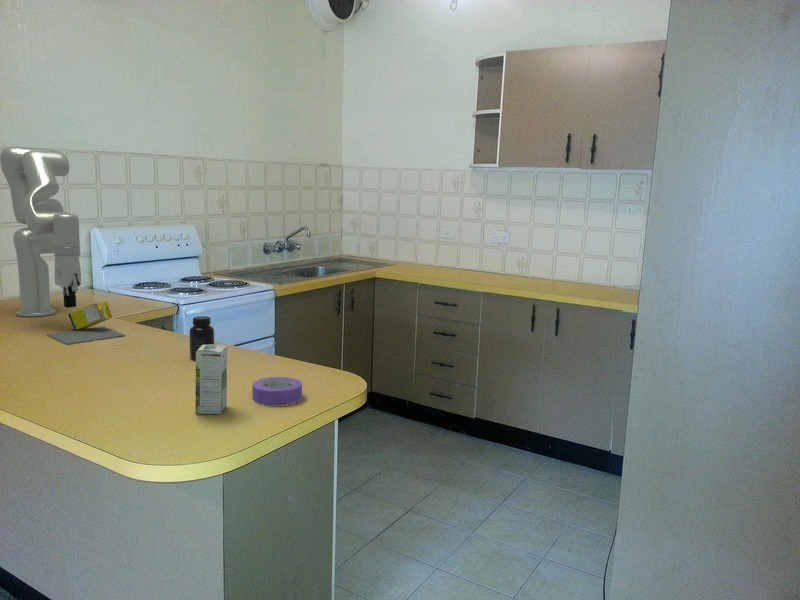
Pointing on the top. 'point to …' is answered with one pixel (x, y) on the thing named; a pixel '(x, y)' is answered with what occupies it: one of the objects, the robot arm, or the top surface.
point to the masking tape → (277, 391)
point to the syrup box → (211, 379)
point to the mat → (85, 335)
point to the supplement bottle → (200, 334)
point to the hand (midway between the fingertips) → (70, 306)
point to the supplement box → (90, 315)
